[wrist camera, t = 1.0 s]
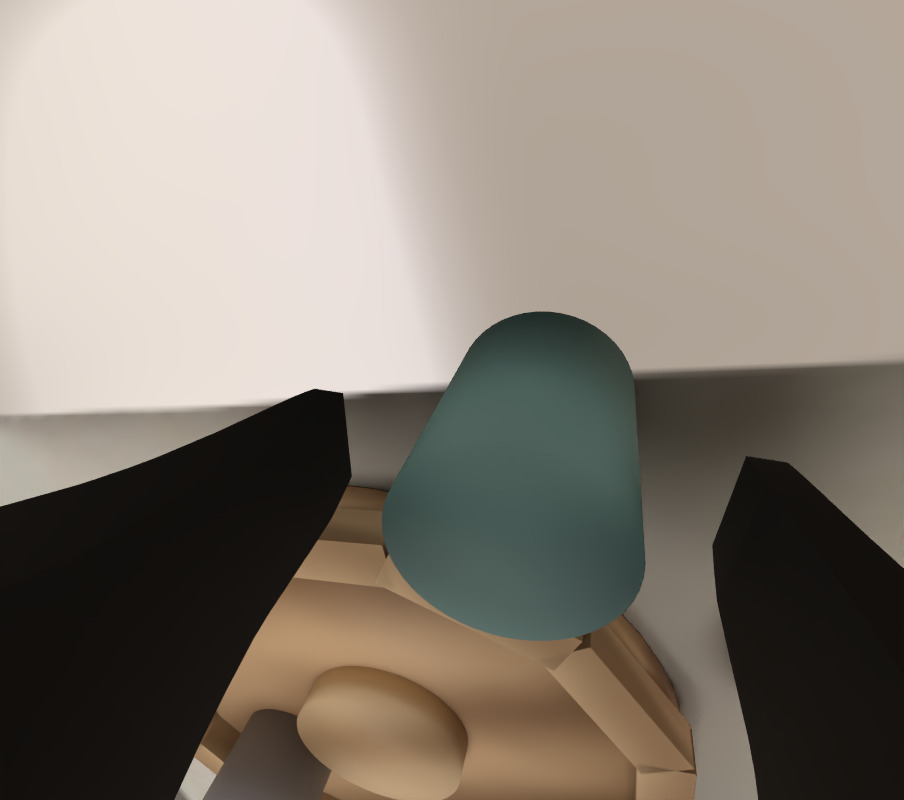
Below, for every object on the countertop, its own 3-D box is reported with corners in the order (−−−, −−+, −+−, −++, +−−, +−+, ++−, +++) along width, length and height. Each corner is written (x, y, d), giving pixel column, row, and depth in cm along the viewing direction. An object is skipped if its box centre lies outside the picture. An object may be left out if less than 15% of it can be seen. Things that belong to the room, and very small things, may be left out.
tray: (794, 826, 18) (815, 911, 16) (384, 841, 28) (368, 895, 26) (425, 369, 13) (393, 416, 11) (84, 588, 22) (37, 632, 21)
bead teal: (669, 422, 12) (699, 606, 8) (522, 486, 14) (480, 660, 10) (570, 274, 11) (541, 395, 7) (426, 368, 13) (333, 505, 8)
